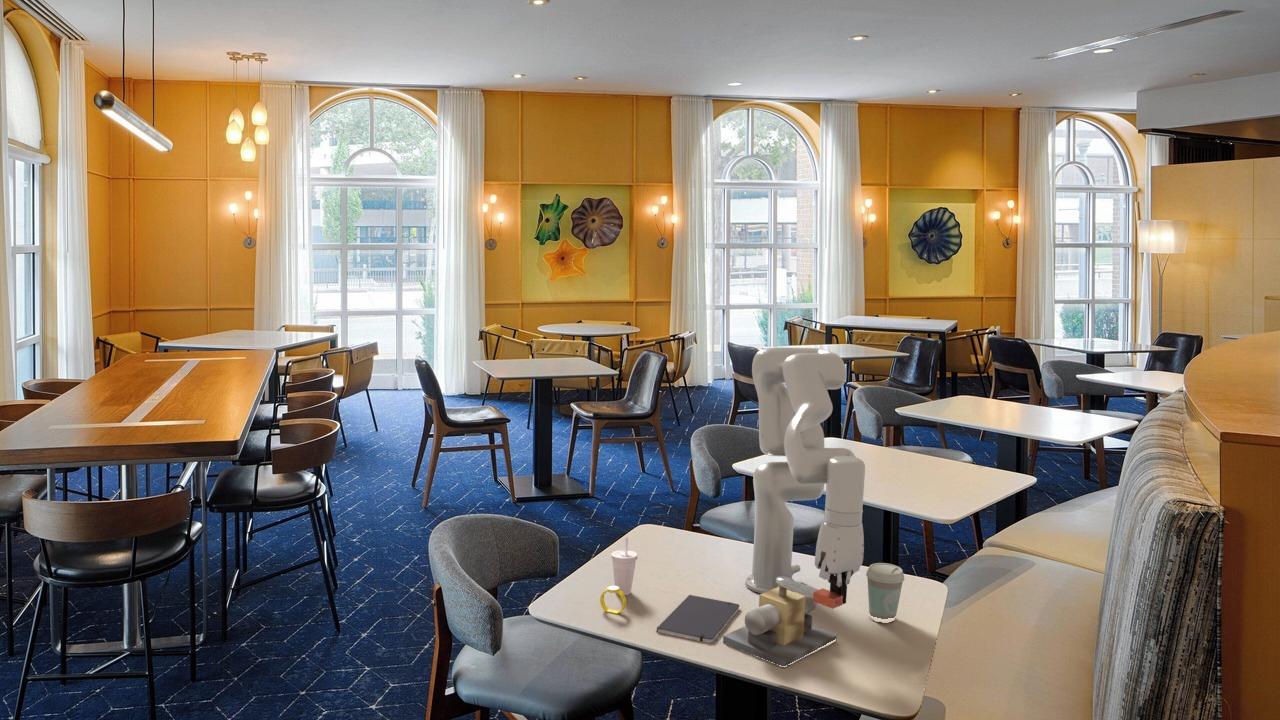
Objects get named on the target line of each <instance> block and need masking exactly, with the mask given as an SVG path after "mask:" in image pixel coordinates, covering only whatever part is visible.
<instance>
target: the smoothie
mask: <svg viewBox="0 0 1280 720" xmlns="http://www.w3.org/2000/svg"><path fill="white" fill-rule="evenodd" d="M628 540H629V537H628V536H625V542H624V543H625V545H624V546H625V547H624V548H625V549H617V550H614V551H612V552H611V554H610V558H611V560H612V568H613V570H612V571H613V578H614V579H613V580H614V581H613V582H614V586H618V587H619V590H620V591H622V592H623V593H624V595H625V596H628V595H631V592H632V587H633V580H634V576H635V575H634V574H635V569H636V562H637V560H638V553H637V552H635V550H634V551H633V550H630V549H628V546H629V545H628V543H629V541H628ZM615 594H616V595H619V594H618V593H615ZM619 596H620V595H619Z"/></svg>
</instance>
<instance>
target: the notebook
mask: <svg viewBox="0 0 1280 720" xmlns="http://www.w3.org/2000/svg"><path fill="white" fill-rule="evenodd" d="M739 608H740V604H739V603H735V602H734V603H733V602H729V601H725V600H718V599H715V598H707V597H703V596H697V595H693V594H689V595H687V596H686V598H685V599H684V600H683V601H682V602H681V603H679V605H678V606H677V607H676V608H674V610H673V611H672V612H671V613H670V614H669V615H668V616H667V617H666V618H665V619H664V620H663V621H662V622H661V623H660V624H659V625H658V626H657V627H656V633H659V632H661V634H664V633H667V634H666V635H669V634H673V635H672V636H674V635H675V636H674V637H679V636H680V638H683V637H684V639H688V638H691V639H690V640H693V639H696V640H695V641H698V640H699V641H698V642H700V641H701V643H703V642H704V643H709V644H710V643H711V642H712V643H714V641H715V640H716V639H715V638H718V636H719V635H720V634H721V633H722V631H723V630H724V629H723V628H726V626H727V625H728V624H729V622H730V621H731V620H732V619H733V617H734V616H736V614H735V613H738V611H739V610H738V609H739ZM731 618H732V619H731ZM727 623H728V624H727ZM719 633H720V634H719ZM718 634H719V635H718ZM676 635H678V636H676ZM685 637H687V638H685ZM712 643H711V644H712Z"/></svg>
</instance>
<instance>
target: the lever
mask: <svg viewBox="0 0 1280 720" xmlns="http://www.w3.org/2000/svg"><path fill="white" fill-rule="evenodd" d="M776 585H777V586H778V587H782V588H786V589H789V590H792V591H794V592H797V593H800V594H802V595H805V596H808V597H810V598H813V602H816V603H817V604H819V605H821V606H824V607H827V608H829V609H833V610H835V609H837V608H839V607H841V606H843V604H842V603H843V595H840V594H837V593H834V592H832V591H830V589H826V588H824V587H823V588H820V589H818V588H815V587H813V586H811V585H807V584H805V583H802V582H799V581H796V580H794V579H793V580H791V579H790V578H789V577H785V576H779V577H777V578H776Z"/></svg>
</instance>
